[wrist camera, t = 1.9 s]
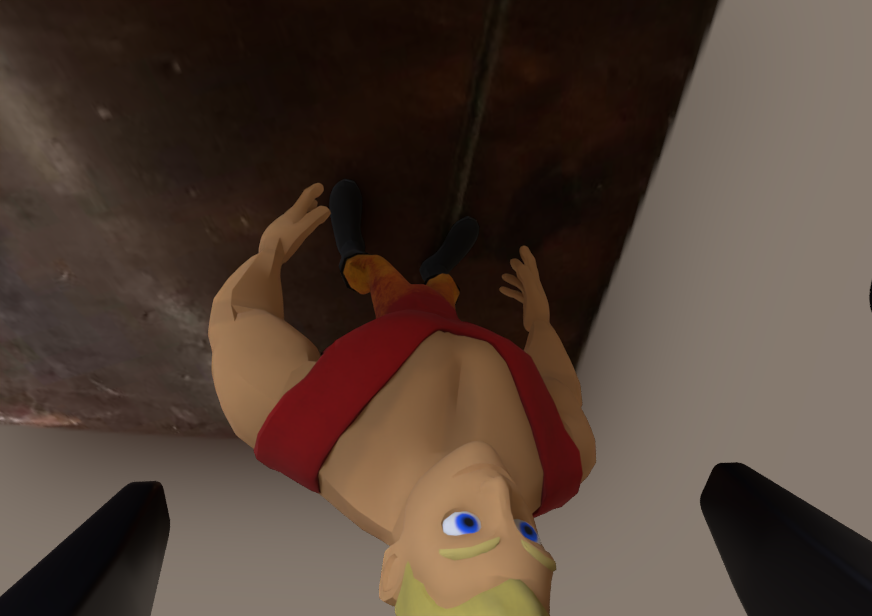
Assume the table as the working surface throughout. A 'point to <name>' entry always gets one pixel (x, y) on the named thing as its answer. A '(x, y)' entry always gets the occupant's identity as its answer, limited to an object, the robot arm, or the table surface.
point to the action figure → (411, 415)
